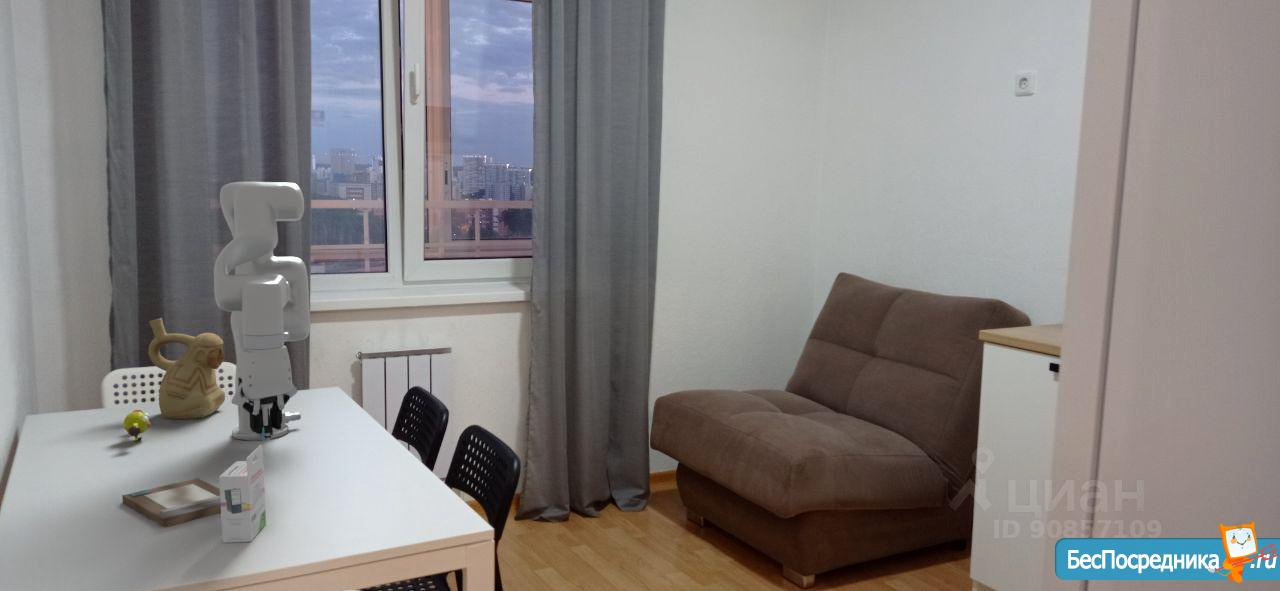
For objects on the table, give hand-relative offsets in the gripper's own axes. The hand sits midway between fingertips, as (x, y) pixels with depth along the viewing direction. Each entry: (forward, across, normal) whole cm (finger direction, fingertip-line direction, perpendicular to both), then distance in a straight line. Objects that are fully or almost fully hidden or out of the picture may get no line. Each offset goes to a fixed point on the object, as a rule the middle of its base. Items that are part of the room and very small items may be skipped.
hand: (266, 429), depth 188 cm
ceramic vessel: (+13, -12, -64) cm, 66 cm away
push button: (+2, 0, 0) cm, 2 cm away
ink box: (+10, +18, +25) cm, 32 cm away
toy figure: (+12, +6, -48) cm, 50 cm away
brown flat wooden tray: (+10, +18, +3) cm, 21 cm away
